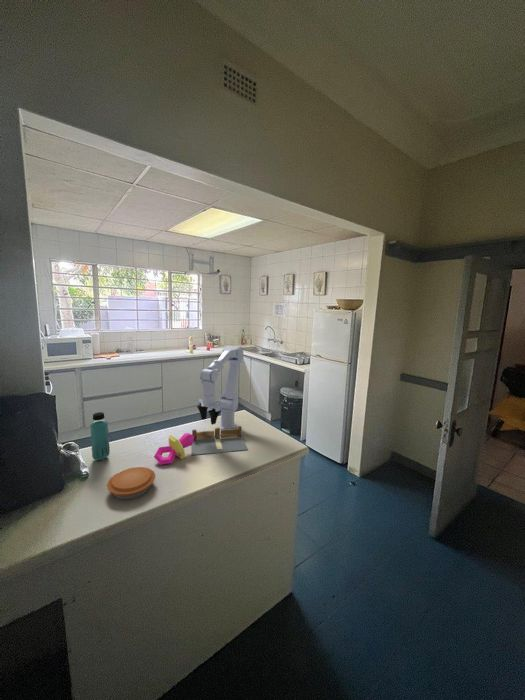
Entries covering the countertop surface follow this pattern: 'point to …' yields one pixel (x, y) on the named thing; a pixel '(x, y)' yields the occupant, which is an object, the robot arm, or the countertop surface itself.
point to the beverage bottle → (99, 437)
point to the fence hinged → (203, 434)
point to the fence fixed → (227, 432)
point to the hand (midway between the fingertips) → (208, 421)
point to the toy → (174, 448)
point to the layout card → (218, 445)
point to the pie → (131, 482)
